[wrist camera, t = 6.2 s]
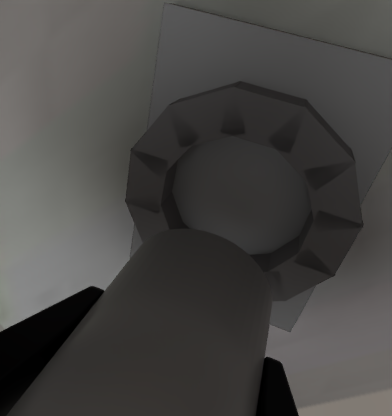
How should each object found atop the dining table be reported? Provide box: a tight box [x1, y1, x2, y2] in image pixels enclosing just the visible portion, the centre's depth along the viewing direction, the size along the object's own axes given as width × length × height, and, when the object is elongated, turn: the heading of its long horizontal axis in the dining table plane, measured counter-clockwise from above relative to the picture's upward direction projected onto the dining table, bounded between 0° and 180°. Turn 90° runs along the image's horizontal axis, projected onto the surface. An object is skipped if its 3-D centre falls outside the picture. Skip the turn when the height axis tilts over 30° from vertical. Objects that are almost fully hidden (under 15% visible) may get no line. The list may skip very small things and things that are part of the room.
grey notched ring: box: [125, 3, 392, 332], centre depth 16 cm, size 14×10×2 cm
